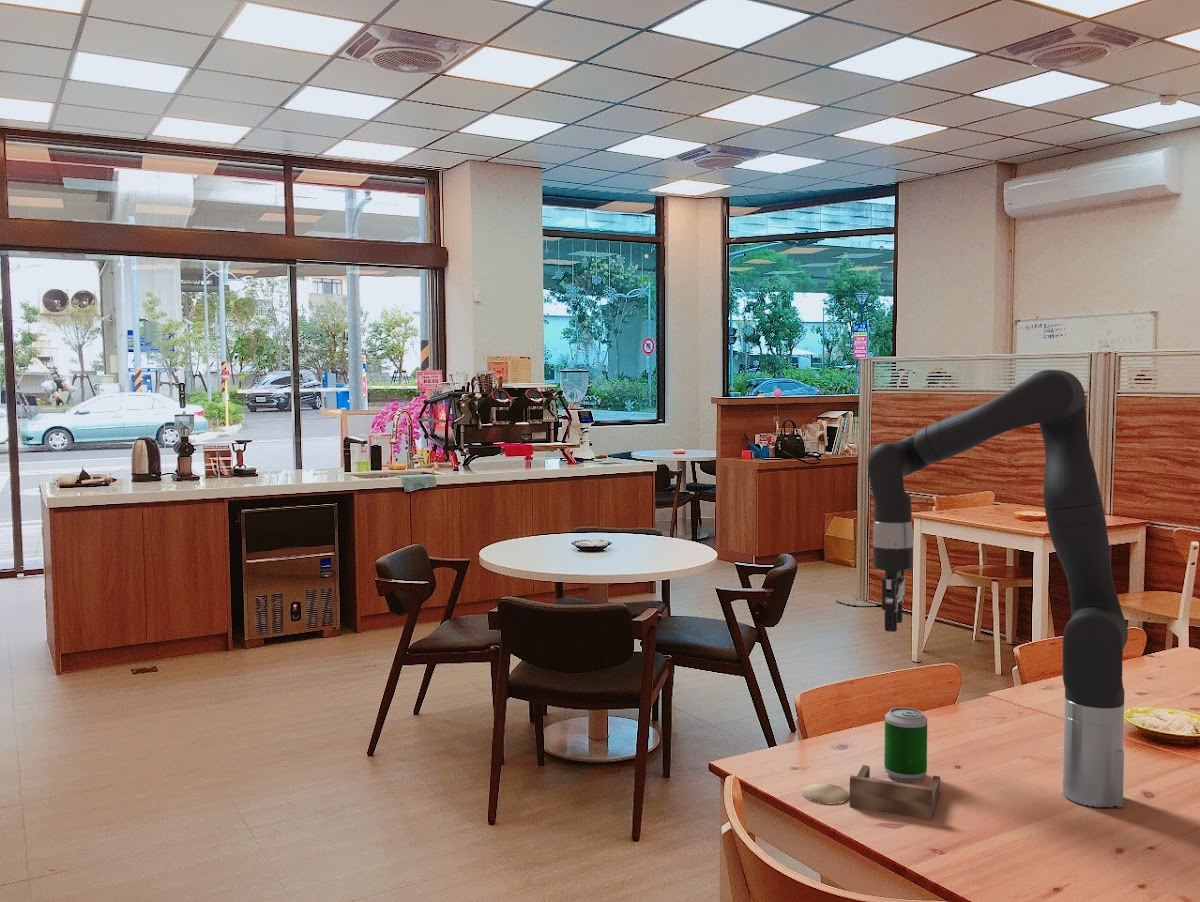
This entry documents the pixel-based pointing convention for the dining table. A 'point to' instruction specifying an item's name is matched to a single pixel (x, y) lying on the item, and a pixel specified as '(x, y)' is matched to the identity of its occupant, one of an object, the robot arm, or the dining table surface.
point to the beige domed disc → (825, 793)
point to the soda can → (905, 744)
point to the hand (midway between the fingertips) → (893, 626)
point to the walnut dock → (894, 795)
